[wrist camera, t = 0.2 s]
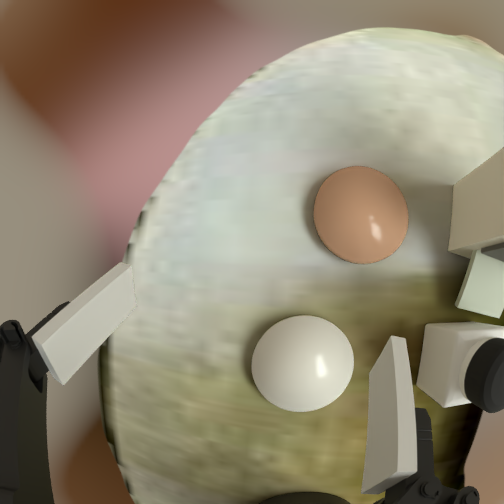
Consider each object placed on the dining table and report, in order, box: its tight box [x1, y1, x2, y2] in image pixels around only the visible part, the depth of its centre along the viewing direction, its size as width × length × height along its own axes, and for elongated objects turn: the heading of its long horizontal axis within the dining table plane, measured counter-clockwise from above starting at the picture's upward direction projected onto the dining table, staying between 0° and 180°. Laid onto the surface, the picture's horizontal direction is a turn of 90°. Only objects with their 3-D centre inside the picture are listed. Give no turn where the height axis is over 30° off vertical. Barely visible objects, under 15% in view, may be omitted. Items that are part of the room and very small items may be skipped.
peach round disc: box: [314, 166, 409, 264], centre depth 27 cm, size 10×10×1 cm
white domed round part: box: [252, 315, 354, 412], centre depth 26 cm, size 10×10×1 cm
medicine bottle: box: [416, 322, 504, 413], centre depth 19 cm, size 7×7×12 cm
